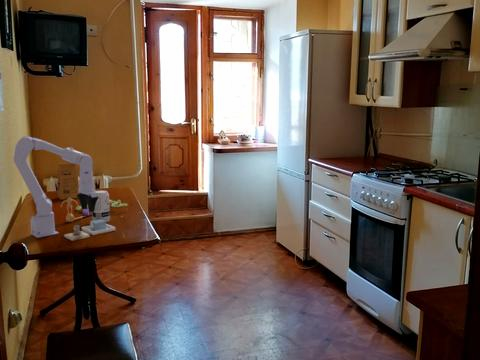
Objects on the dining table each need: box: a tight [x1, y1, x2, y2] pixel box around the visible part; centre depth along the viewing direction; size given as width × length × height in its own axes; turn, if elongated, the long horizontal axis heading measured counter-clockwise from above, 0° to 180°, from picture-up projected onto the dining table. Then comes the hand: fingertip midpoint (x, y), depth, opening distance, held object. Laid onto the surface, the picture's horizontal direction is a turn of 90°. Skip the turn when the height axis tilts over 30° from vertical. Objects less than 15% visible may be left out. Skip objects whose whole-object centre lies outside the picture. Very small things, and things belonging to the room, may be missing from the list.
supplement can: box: [92, 190, 111, 223], centre depth 225 cm, size 8×8×15 cm
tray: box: [81, 223, 116, 236], centre depth 210 cm, size 11×11×2 cm
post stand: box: [63, 224, 91, 242], centre depth 200 cm, size 8×8×5 cm
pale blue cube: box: [89, 219, 107, 231], centre depth 209 cm, size 5×6×4 cm
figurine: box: [60, 197, 80, 223], centre depth 225 cm, size 8×6×12 cm
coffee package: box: [56, 162, 80, 201], centre depth 280 cm, size 10×12×22 cm
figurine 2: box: [75, 199, 128, 216], centre depth 248 cm, size 18×27×6 cm
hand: (87, 210), depth 210 cm, fingers open, 7 cm apart
